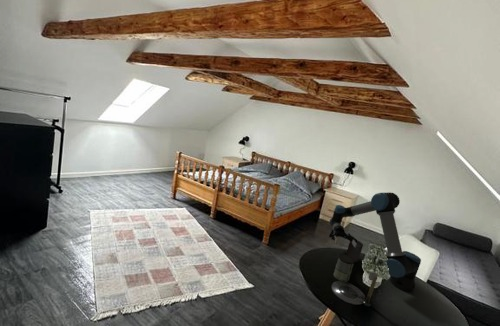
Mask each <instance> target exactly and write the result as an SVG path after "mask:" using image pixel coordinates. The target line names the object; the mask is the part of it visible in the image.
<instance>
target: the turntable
mask: <svg viewBox="0 0 500 326" xmlns="http://www.w3.org/2000/svg"><path fill="white" fill-rule="evenodd" d="M331 291H332V292H333V294H334V295H335V296H336V297H338V299H339V300H341V301H343V302H345V303H347V304H351V305H357V306H359V305H364V304H363V300H366V295H365V294H364V292H363V291H362V290H361V289H360V288H358V287H357V286H356V285H354V284H352V283H350V282H348V281H347V282H344V281H340V280H337V281H334V282H333V283H332V284H331Z"/></svg>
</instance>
